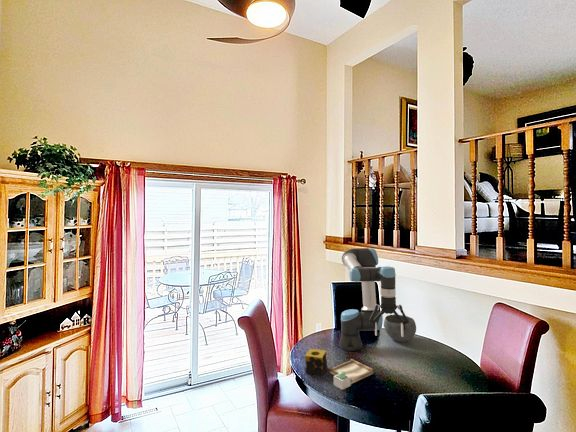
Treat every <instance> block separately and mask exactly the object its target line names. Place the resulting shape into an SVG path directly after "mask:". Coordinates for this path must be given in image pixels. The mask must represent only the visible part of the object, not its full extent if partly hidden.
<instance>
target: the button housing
mask: <svg viewBox="0 0 576 432" xmlns="http://www.w3.org/2000/svg"><path fill="white" fill-rule="evenodd" d="M333 386H335V388H338V389H339V390H341V391H342V390H345V389H347V388H349V387H351V384H350V377H349V376H347V375H345V379H343V380H341V379H340V378H338V374H337V375H333Z"/></svg>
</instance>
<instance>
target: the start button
mask: <svg viewBox="0 0 576 432" xmlns="http://www.w3.org/2000/svg"><path fill="white" fill-rule="evenodd" d="M338 378H340V379H341V380H343V379H345V372H344V371H339V372H338Z"/></svg>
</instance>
